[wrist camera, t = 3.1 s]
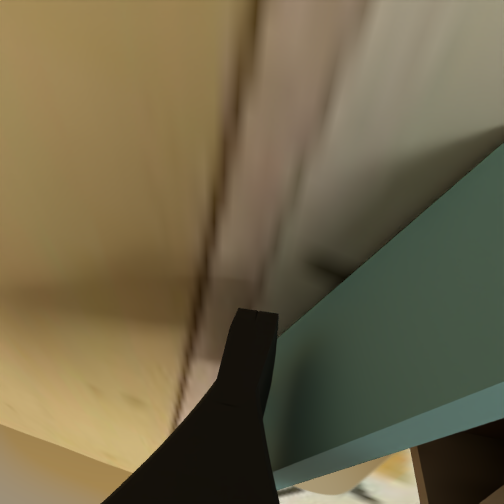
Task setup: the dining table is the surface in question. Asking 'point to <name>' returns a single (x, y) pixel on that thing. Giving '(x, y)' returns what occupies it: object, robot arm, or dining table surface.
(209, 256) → the dining table surface
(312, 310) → the teal door
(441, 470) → the walnut cabinet
